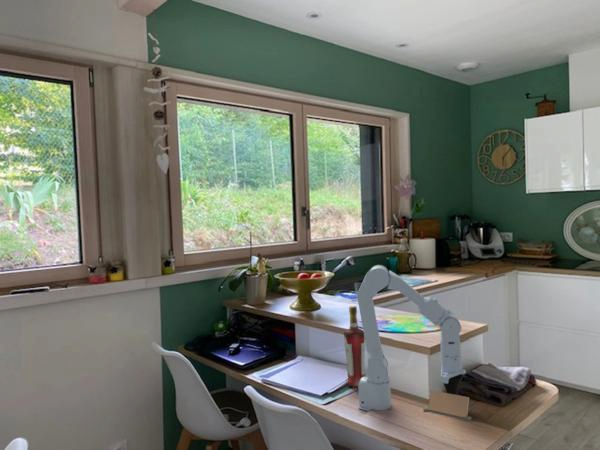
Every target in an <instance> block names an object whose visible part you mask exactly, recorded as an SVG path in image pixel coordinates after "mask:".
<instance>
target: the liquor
mask: <svg viewBox="0 0 600 450" xmlns="http://www.w3.org/2000/svg"><path fill="white" fill-rule="evenodd" d="M348 311H349V328H347V329H345V331H343V338H344V349H345V351H344V352H345V360H346V371H347V372H346V373H347V380H348V383H347V384H348V385H349V386H350V387H351V386H352V387H351V388H353V387H357V388H356V389H358V387H359V382H360V380H361V378H362V377H366V374H365V372H366V371H365V370H366V369H365V367H366V366H365V364H366V363H365V362H366V361H365V356H366V355H365V352H366V343H365V337H364V332H363V329H361V328H359V325H358V317H357V315H358V314H357V313H358V308H357V305H352V306H351V305H350V306H349V307H348Z"/></svg>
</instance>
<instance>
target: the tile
mask: <svg viewBox="0 0 600 450" xmlns="http://www.w3.org/2000/svg"><path fill="white" fill-rule="evenodd" d="M469 402H470V397H469V396H463V395H460V394H458V395H454V394H449V393H447V392H443V391H437V390H433V389H430V395H429V402H428V407H427V408H428V410H427V413H428V412H429V413H432V414H433V413H434V414H438V415H442V416H447V417H452V418H456V419H462V420H464V421H465V420H466V421H467V417H468V415H467V413H468V414H469Z"/></svg>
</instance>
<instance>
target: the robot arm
mask: <svg viewBox="0 0 600 450" xmlns="http://www.w3.org/2000/svg"><path fill="white" fill-rule="evenodd" d="M386 287H387V289H388V290H393V291H394V290H395V291H398V293H400V294H401V295H403V296H405V298H407V299H408V300H410V301H411V302H412V303H413V304H415V305H416V306H417V310H418V313H419V314H420V315H422V316H423V317H425V318H426V319H427V320H428V321H429V322H431V323H432V324H433V325H434V326H437V327H439V329H440V338H439V339H440V340H439V341H440V362H441V363H440V364H441V365H440V366H441V367H440V377H439V378H440V383H441V384H443V385H444V388H445V391H446V392H445V393H449V394H454V395H459V390H460V389H459V388H460V385H461V382H462V379H463V377H464V375H465V374H466V372H467V370H466V369H463V365H462V363H463V362H462V352H461V351H462V350H461V339H460V337H461V336H460V333H461V332H462V326H461V323H460V320H459V319H458V317H457V316H456V315H455V314H454V312H451V310H450V309H446V308H445V307H443V306H442V305H441V303H439V300H438V299H437V298H435V297H434V298H432V297H430V296H427V297H426V296H425V297H424V296H423V295H422V294H420V292H418V291H417V290H416V289H415V288H414V287H412V286H411V285H410V284H409V283H407V281H405V280H404V279H403V278H402V277H400V276H399V275H398V274H397V273H395V272H393V271H392V270H389V269H388V268H387V267H386V266H384V265H382V264H376V265H374V266H372V267H371V268H370V269H369V270H368V271H367V272H366V274H365V275H364V279H363V280H362V282H361V283H360V286H359V289H358V290H357V294H356V298H357V305H358V308H359V314H360V320H361V324H362V330H363V332H364V337H365V349H366V354H367V355H366V356H367V369H366V376H365V377H362V378H361V380H360V382H359V388H357V389H358V405H359V406H358V407H357V408H358V409H359V410H363V411H367V412H370V411H371V410H377V411H384V410H388V409H390V408H391V407H392V398H391V396H392V395H391V394H392V393H391V377H390V375H389V371H388V367H389V361H388V359H387V357H386V356H385V355H384V351H383V347H382V344H381V343H382V342H381V338H380V333H379V326H378V321H377V315H376V310H375V304H374V297H375V296H376V295H377V293H378V292H380V291H381V290H383V289H384V288H386Z"/></svg>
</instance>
